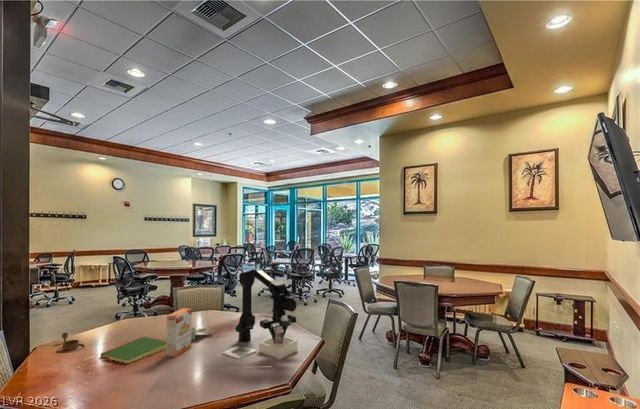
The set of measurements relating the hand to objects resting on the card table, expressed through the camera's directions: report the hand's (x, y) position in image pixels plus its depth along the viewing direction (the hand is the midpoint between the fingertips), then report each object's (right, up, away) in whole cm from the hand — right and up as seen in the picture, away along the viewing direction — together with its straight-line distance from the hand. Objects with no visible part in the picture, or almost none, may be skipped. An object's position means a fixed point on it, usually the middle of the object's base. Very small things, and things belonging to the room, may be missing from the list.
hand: (278, 338), depth 177 cm
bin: (0, -7, 0) cm, 7 cm away
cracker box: (-51, -8, 0) cm, 52 cm away
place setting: (-111, -8, +6) cm, 111 cm away
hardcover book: (-73, -8, -2) cm, 73 cm away
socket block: (-19, -7, -3) cm, 21 cm away
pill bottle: (0, -3, 0) cm, 3 cm away
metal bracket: (-43, -7, +23) cm, 49 cm away
